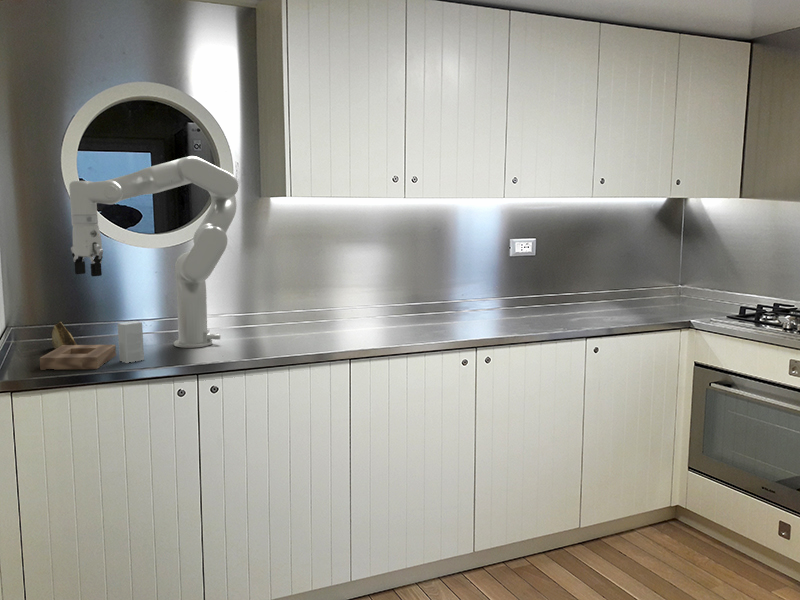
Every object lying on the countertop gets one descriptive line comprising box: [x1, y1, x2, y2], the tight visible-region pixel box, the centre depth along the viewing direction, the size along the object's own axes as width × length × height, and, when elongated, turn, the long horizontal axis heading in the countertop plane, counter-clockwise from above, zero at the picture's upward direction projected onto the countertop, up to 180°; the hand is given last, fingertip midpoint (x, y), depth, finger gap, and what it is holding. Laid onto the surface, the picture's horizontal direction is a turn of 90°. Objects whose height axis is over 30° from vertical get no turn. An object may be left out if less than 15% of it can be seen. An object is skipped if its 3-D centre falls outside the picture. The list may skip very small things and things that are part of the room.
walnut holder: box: [39, 344, 117, 371], centre depth 215 cm, size 16×18×4 cm
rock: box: [51, 321, 78, 349], centre depth 233 cm, size 11×9×10 cm
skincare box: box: [117, 320, 145, 364], centre depth 217 cm, size 6×4×12 cm
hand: (88, 274), depth 224 cm, fingers open, 9 cm apart
